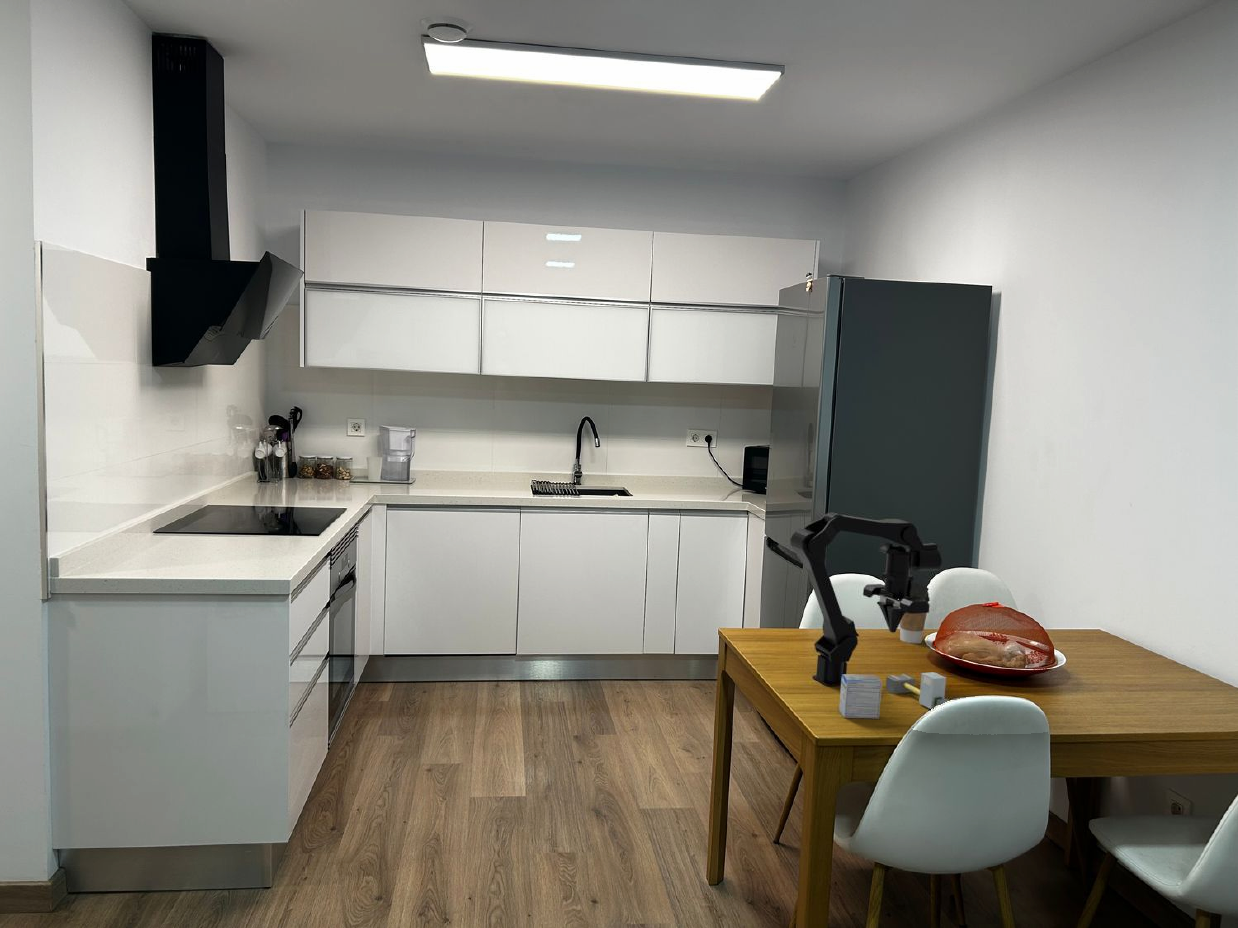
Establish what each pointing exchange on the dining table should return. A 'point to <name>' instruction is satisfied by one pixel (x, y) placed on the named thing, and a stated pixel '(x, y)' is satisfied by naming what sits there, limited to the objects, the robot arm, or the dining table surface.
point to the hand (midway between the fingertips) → (892, 632)
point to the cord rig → (906, 686)
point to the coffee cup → (913, 625)
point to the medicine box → (860, 696)
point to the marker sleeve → (931, 688)
